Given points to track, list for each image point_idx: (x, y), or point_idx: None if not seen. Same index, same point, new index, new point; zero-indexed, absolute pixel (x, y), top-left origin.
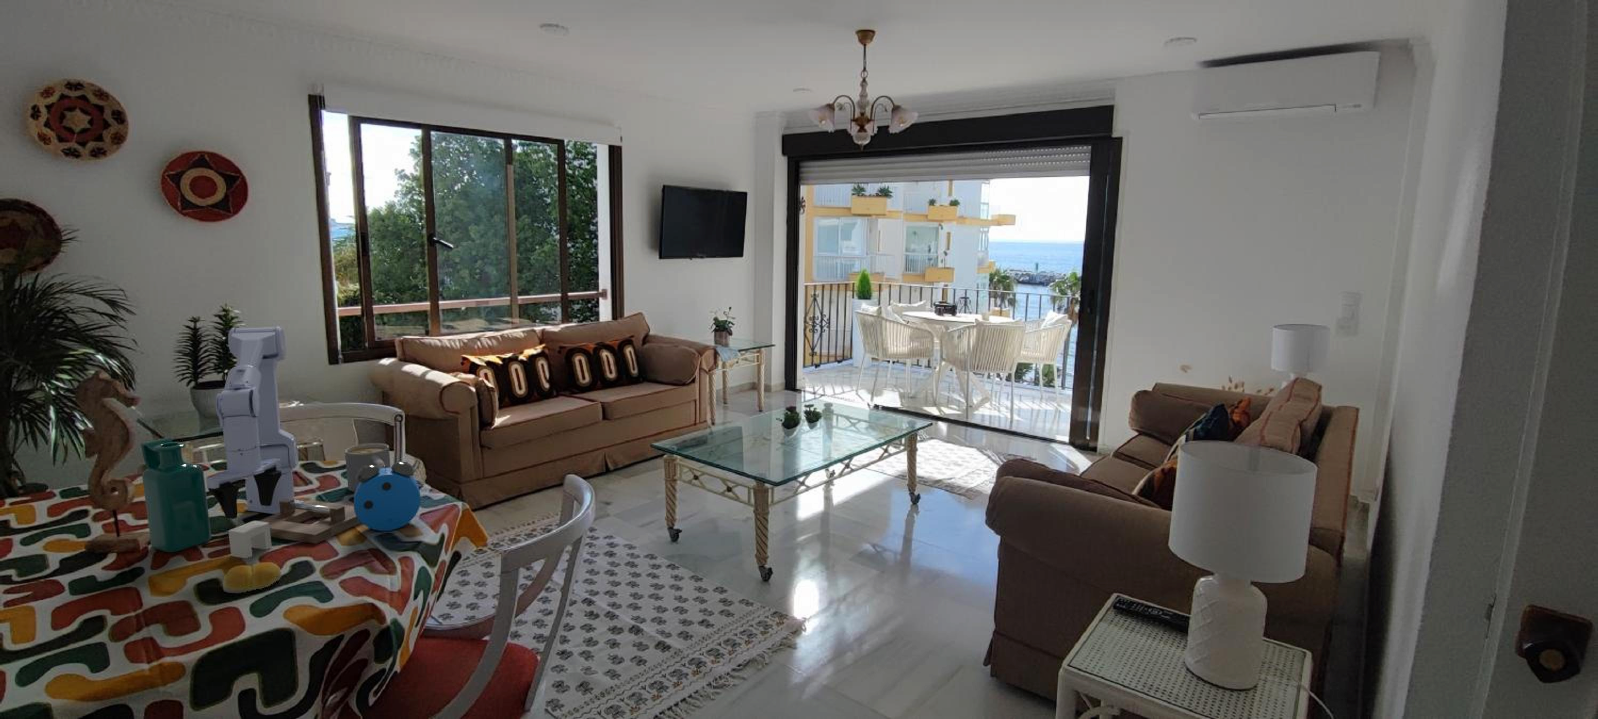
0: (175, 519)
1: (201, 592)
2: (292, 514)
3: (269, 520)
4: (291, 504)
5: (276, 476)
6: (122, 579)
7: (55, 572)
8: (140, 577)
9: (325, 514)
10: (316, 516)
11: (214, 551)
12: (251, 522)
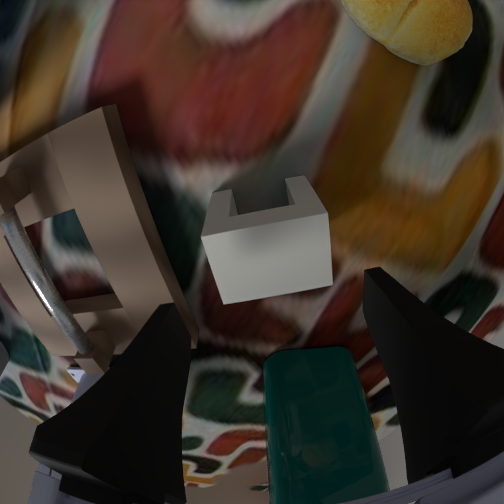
0: (356, 408)
1: (474, 82)
2: (94, 323)
3: None
4: (84, 345)
5: (66, 436)
6: (456, 294)
7: None
8: (448, 279)
9: None
10: None
11: (309, 294)
12: (239, 294)
